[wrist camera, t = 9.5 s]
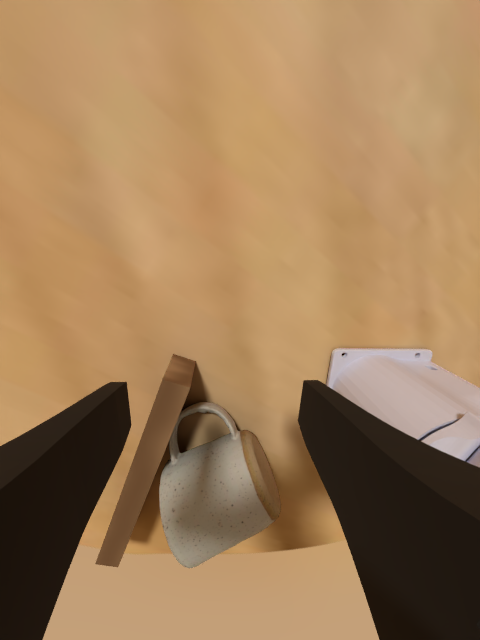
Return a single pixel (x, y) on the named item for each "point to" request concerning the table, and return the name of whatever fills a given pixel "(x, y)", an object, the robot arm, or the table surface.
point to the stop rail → (147, 458)
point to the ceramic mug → (215, 492)
